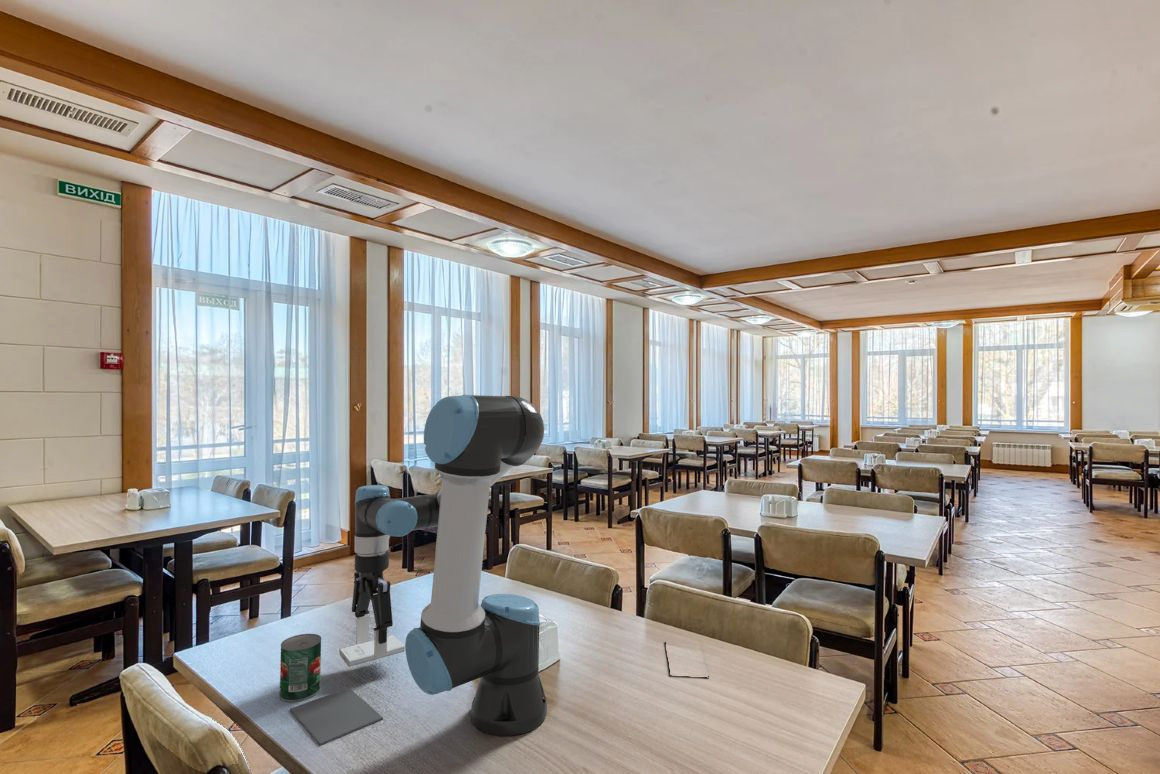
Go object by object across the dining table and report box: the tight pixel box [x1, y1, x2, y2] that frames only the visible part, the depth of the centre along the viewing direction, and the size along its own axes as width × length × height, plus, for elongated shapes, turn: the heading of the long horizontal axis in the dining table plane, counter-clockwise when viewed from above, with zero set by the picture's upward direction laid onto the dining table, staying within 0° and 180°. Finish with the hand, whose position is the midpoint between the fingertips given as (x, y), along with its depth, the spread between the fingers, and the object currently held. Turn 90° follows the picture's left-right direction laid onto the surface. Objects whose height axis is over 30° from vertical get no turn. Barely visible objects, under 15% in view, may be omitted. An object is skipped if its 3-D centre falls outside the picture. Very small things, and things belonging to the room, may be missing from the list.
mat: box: [289, 687, 384, 746], centre depth 112 cm, size 16×12×1 cm
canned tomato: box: [279, 633, 322, 703], centre depth 121 cm, size 8×8×11 cm
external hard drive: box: [339, 635, 405, 668], centre depth 131 cm, size 2×8×12 cm
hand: (371, 650), depth 130 cm, fingers closed on external hard drive, 9 cm apart
